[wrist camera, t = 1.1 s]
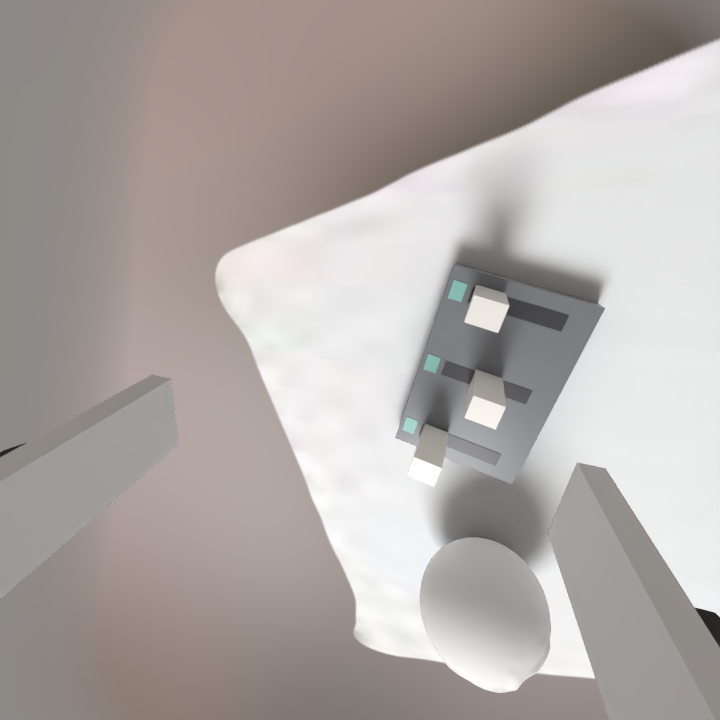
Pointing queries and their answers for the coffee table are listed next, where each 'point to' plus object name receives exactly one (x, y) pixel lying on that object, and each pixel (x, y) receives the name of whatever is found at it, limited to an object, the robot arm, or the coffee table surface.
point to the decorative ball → (485, 613)
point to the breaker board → (497, 369)
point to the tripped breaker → (485, 399)
